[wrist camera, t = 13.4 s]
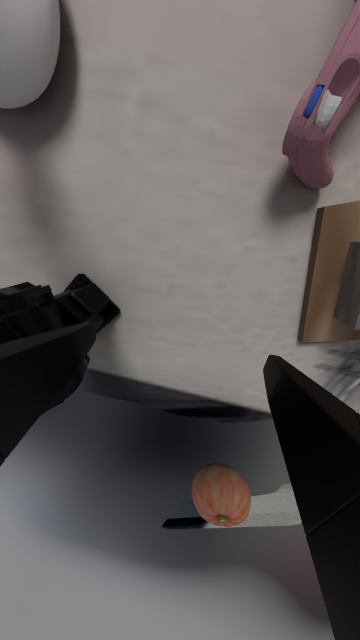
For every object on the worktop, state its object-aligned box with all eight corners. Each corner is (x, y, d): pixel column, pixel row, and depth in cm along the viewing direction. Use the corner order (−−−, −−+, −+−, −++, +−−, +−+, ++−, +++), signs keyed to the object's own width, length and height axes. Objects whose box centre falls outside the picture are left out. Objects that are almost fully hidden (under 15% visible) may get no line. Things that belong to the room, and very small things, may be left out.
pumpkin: (222, 447, 33) (227, 505, 26) (256, 473, 36) (270, 533, 29) (182, 464, 38) (177, 518, 30) (215, 487, 40) (218, 541, 33)
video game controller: (360, 26, 13) (425, -191, 7) (438, 28, 11) (606, -246, 5) (272, 182, 17) (266, 130, 11) (320, 198, 16) (342, 149, 10)
